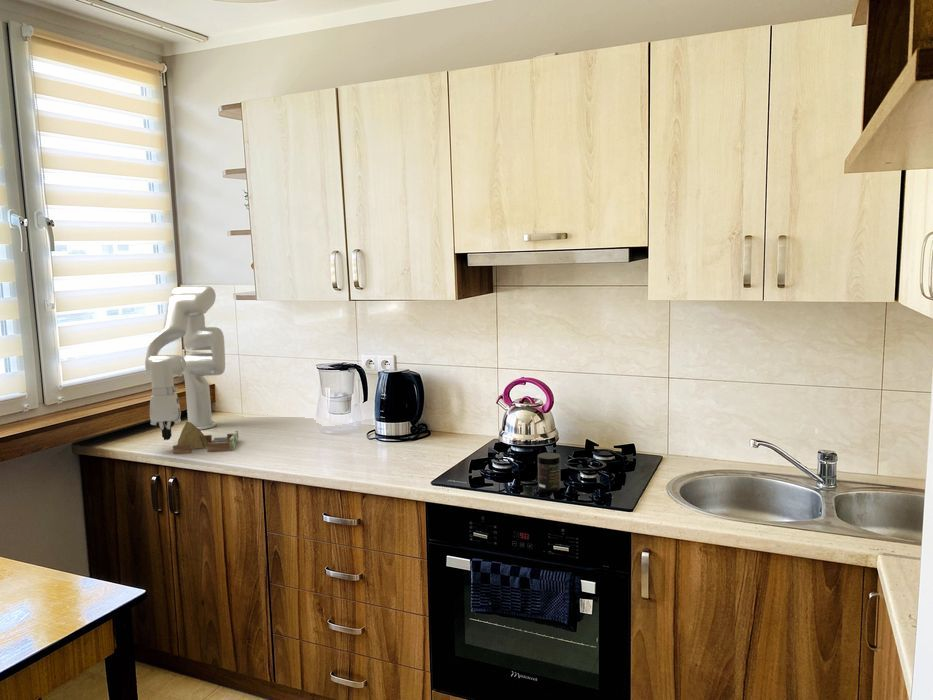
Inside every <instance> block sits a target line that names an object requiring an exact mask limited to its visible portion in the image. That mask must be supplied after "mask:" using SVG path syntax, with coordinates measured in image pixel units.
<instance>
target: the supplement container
mask: <svg viewBox="0 0 933 700" xmlns="http://www.w3.org/2000/svg"><path fill="white" fill-rule="evenodd" d="M537 488H538V490H540V491H541V492H543V493H544V492H545V493H556V492H558V491H560V489H561V455H560V454H559V453H556V452H542V453H541V452H540V453H538V454H537Z"/></svg>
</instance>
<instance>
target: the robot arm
mask: <svg viewBox="0 0 933 700" xmlns="http://www.w3.org/2000/svg"><path fill="white" fill-rule="evenodd" d="M216 296H217V295H216V292H215V290H214V288H213V287H212V286H209V285H197V286H196V285H190V286H189V285H184V286H177V287H174V288H173V289H172V290H171V294H170V297H169V299H168V300H167V303H166V310H165V315H164V323H163V328H162V330H161V331H160V332H158V333H157V334H156V336H154V337H153V339H152V340H151V341H150V343H149V345H148V346H147V349H146V355H145V362H144V368H145V371H146V372H147V373H148V374H149V375H150V381H151V392H152V394H151V395H150V399H149V400H150V401H149V419H150V425H152V426H156V427H158V428H159V429H160V430H161V436H162V438H163V441H166V440H167V441H169V440H170V439H171V438H172V435H173V434H172V427H174V426H175V425H176V424H180V423H181V422H182V420H181V415H182V412H181V406H180V400H179V397H178V394H177V393H175V392H178V391H179V387H175V385H174V376H176V375H180V374H181V375H182V374H183V379H184V385H185V398H186V400H185V401H186V413H187V422H190V423H192V424H193V425H194V426H196V427H197V428H198V429H199V430H200V431H202V430H207V429H212V428H214V427H216V425H217V423H216V422H217V421H214V420H213V418H212V417H213V416H212V403H211V392H210V384H209V382H208V380H207V379H206V378H205V377H208V376H209V377H210V376H213V377H214V376H221V375H222V374H223V373H225V370H226V352H225V351H226V349H225V347H226V346H225V336H224V332H223V331H222V329H221V328H219V327H214V326H212V327H211V326H206V322H205V321H206V319H205V318H206V317H205V314H206V313H207V312H208V311H209V310H210V309H211V308H212V307H213V306H214V304H215V302H216ZM181 338H183V343H184V346H185V348H186V349H187V350H190V351H211V352H200V353H199V352H198V353H197V352H196V353H195V352H194V353H187V354H186V355H184V356H183V355H179V354H160V351H161V350H162V349H163V348H164V347H165V346H166V345H168V344H171V343H172V342H175V341H177V340H179V339H181ZM165 422H166V424H165Z"/></svg>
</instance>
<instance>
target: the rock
mask: <svg viewBox="0 0 933 700" xmlns="http://www.w3.org/2000/svg"><path fill="white" fill-rule="evenodd" d="M205 435H206V434H204V433H203V432H202V430H199V429H198V428H197V427H196V426H194V425H193V424H192V423H190V422H188V421H186V422H185V424H184V426H183V428H182V430H181V433H180V435H179V438H178V441H177V445H189V444H191V450H196V449H197V450H198V449H205V448H206V449H207V443H208V441H207V439H206V438H205Z"/></svg>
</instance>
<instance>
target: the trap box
mask: <svg viewBox="0 0 933 700" xmlns="http://www.w3.org/2000/svg"><path fill="white" fill-rule="evenodd" d="M204 435H205V438H206V439H207V441H208V443H207V447H206V450H207V453H215V452H227V451H228V452H229V451H234V449H235V447H236V445H237V444H238V443H239V431H238V430H235V431H234V432H233V433H227V434H226V437H225V436H224V437H223V436H221V437H214V439H212V438H213V437H212V436H213V435H212V434H204ZM172 453H173V455H180V454H181V455H182V454H191V453H192V449H191V444H189V445H176V444H175V445H173V446H172Z"/></svg>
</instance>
